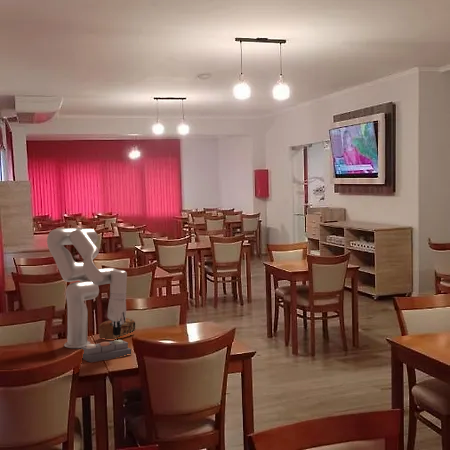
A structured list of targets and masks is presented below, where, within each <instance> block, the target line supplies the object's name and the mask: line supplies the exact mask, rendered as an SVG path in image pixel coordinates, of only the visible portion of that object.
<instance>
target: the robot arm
mask: <svg viewBox="0 0 450 450" xmlns="http://www.w3.org/2000/svg"><path fill="white" fill-rule="evenodd" d="M98 237H99V236H98V233H97V232H96V231H95V230H94V228H93V229H92V228H91V227H90V228H85V227H65V228H64V227H61V228H55V229H52V230H50V232H49V233H48V235H47V238H46V245H47V248H48V250H49V253H50V254H51V256H52V258H53V260H54V262H55V264H56V266H57V269H58V271H59V274H60V276H61V278H62V279H63V281H64V282H67V283H70V284H69V285H67V286H66V289H65V298H66V304H67V306H66V307H67V335H66V338H67V342H64V344H63V345H64V348H67V349H81V346H86V345H88V344H91V341H89V340H88V306H87V305H86V303H85V301H88V300H94V299H95V298H97V297H98V296H99V293H100V289H99V286H103V285H108V284H110V286H109V300H108V306H107V319H108V320H111V321H112V324H113V326H114V327H113V335H115V336H116V335H120V333H121V325H122V324H124V321H125V320H126V318H127V301H126V300H127V282H128V281H127V280H128V272H127V271H126V270H123V269H117V268H114V267H105V268H104V267H103V268H98V267H97V266H96V265H95V263H94V261H93V260H94V259H96V258H97V256H98V255H99V252H100V251H99V250H100V249H99V248H98V247H97V246H96V243H97V242H98V239H99V238H98ZM66 245H67V246H68V245H69V246H71V245H73V246H74V248H75V249H76V251H77V252H78V254H79V255H80V256H81V257H82V259H83V261H76V260H74V258H73V255H72V253H71V252H70V251H69V249H67V248H66V247H65V246H66Z"/></svg>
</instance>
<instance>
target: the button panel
mask: <svg viewBox="0 0 450 450" xmlns="http://www.w3.org/2000/svg"><path fill="white" fill-rule="evenodd" d="M108 342H109V343H110V345H107V346H101V345H100V343H101V342H100V343H95V344H96V347H95V348H87V345H86V346H81V348H80V350H81V349H83V350H84V354H83V359H82V360H84V361H86V362H88V363H96V362H102V361H107V360H111V359H117V358H116V357H119V358H121V357H120V356H124V355H127V354H131V355H132V348H130V347H129V342H127V341H125V340H123V343H119V344H115V343H114V341H108ZM124 357H125V356H124Z"/></svg>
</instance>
